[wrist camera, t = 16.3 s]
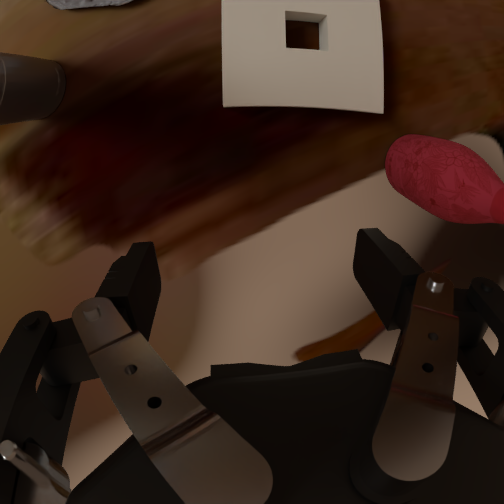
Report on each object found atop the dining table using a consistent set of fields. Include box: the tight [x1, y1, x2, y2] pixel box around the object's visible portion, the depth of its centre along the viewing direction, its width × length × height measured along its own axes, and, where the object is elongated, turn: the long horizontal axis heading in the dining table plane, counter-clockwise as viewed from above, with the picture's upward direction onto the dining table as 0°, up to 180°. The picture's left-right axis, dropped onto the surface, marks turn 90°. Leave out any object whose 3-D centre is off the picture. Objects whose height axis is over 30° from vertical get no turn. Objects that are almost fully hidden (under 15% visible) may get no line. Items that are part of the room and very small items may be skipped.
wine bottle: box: [385, 134, 504, 224], centre depth 27 cm, size 10×10×30 cm
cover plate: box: [222, 0, 384, 114], centre depth 31 cm, size 20×20×4 cm
